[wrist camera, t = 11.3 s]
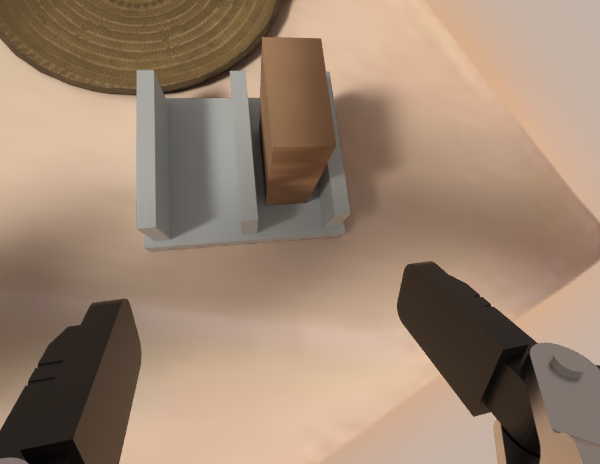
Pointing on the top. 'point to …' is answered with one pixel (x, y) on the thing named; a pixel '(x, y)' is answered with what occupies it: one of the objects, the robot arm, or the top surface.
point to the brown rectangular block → (294, 118)
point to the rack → (220, 174)
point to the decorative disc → (133, 39)
